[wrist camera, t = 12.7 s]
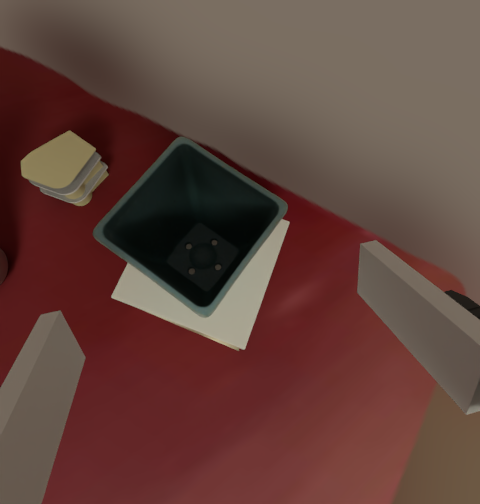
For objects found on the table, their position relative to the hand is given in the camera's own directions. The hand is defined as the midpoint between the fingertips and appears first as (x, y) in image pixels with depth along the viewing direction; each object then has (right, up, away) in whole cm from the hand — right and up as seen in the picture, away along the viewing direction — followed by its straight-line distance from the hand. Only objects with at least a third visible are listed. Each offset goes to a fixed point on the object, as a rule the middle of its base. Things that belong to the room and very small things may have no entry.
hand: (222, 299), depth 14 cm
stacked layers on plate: (-19, +10, +25) cm, 33 cm away
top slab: (-3, 0, +18) cm, 18 cm away
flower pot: (-2, +2, +14) cm, 14 cm away
